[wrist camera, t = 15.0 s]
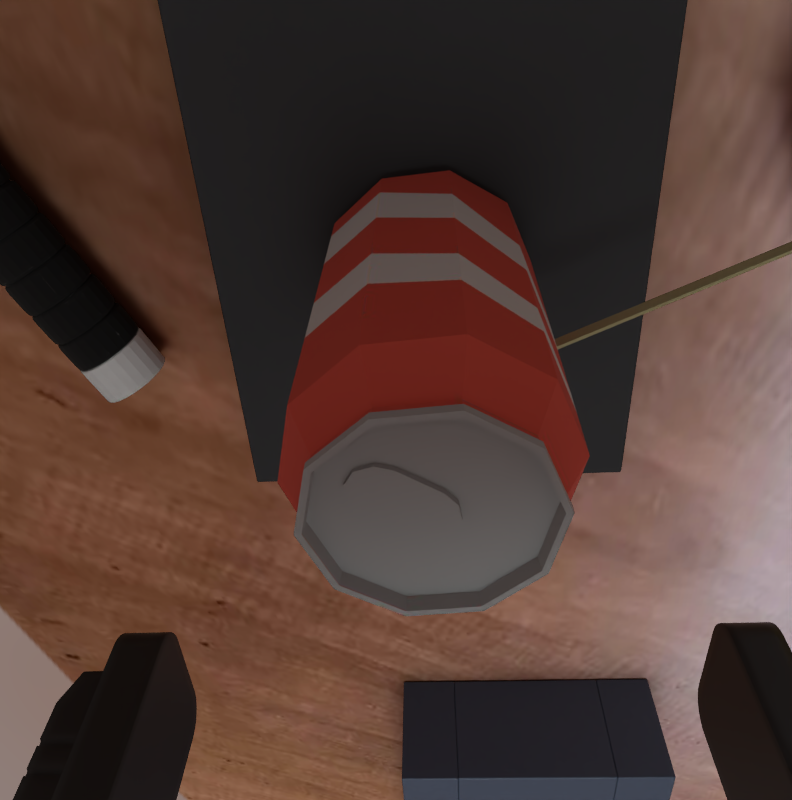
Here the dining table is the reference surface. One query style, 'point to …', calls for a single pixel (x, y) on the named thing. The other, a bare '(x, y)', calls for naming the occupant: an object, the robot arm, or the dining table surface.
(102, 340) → the black and white cylinder
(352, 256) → the beverage can
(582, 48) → the mat
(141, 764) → the robot arm
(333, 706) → the dining table surface
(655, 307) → the brown stick
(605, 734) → the holder
